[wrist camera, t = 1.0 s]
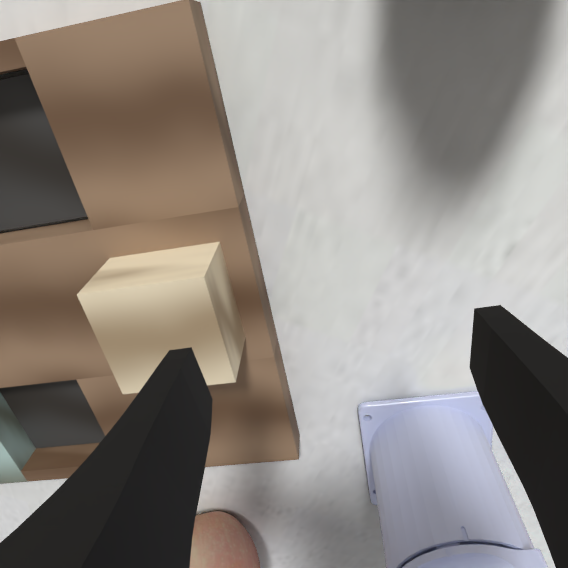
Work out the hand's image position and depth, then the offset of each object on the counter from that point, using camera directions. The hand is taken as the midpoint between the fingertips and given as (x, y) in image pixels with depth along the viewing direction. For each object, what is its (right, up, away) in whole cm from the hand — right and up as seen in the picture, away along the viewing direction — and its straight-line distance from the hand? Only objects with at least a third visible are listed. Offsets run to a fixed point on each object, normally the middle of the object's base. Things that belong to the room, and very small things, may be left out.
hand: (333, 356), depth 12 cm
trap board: (-14, +1, +14) cm, 20 cm away
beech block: (-6, +1, +11) cm, 13 cm away
